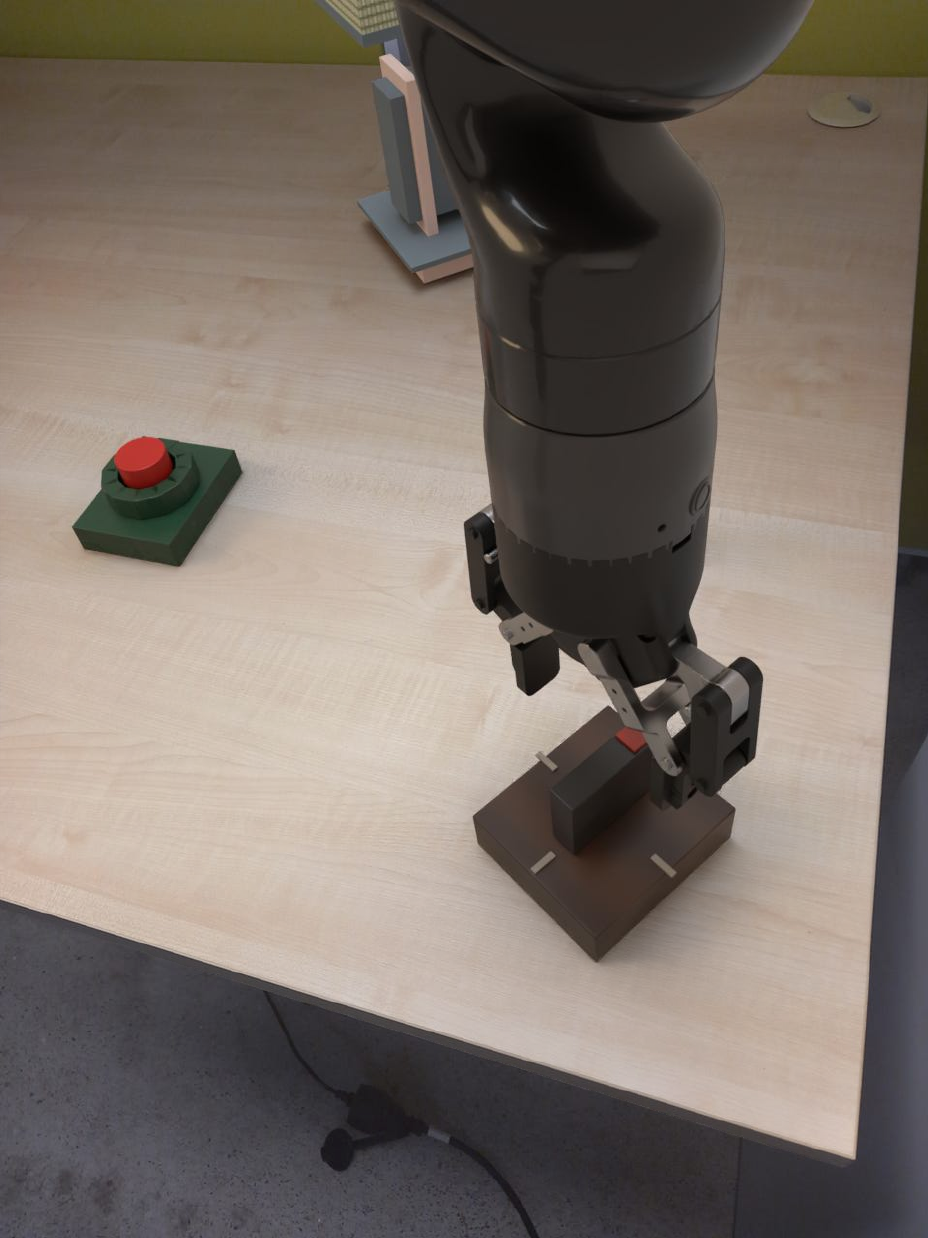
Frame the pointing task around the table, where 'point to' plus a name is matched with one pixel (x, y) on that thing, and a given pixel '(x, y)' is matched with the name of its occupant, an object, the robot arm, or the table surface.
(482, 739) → the table surface
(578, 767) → the knob
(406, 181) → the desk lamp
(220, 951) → the table surface
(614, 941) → the panel
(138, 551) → the button box
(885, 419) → the table surface
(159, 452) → the button
